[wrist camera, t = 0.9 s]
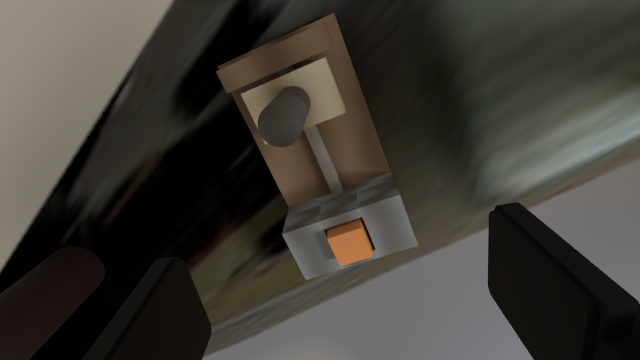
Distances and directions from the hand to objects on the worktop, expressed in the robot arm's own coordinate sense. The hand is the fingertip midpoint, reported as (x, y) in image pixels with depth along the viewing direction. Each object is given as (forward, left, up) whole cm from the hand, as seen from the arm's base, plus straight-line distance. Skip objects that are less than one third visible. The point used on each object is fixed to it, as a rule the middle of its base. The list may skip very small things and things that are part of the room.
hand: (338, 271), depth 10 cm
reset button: (+3, +12, -21) cm, 24 cm away
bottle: (+39, +7, -27) cm, 48 cm away
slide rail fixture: (+3, +3, -27) cm, 27 cm away
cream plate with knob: (+3, -2, -24) cm, 24 cm away
